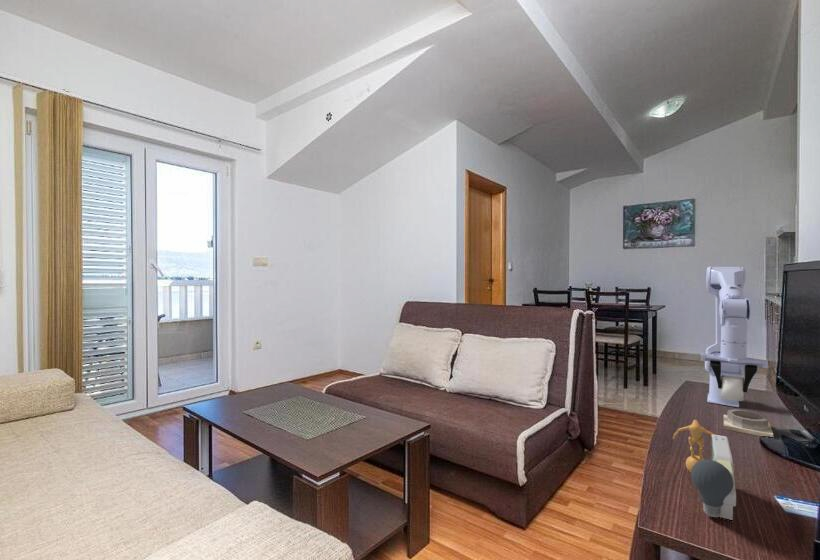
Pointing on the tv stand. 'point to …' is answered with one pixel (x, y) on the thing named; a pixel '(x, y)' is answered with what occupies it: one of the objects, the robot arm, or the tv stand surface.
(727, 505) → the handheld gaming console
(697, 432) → the figurine
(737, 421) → the beige square plate
